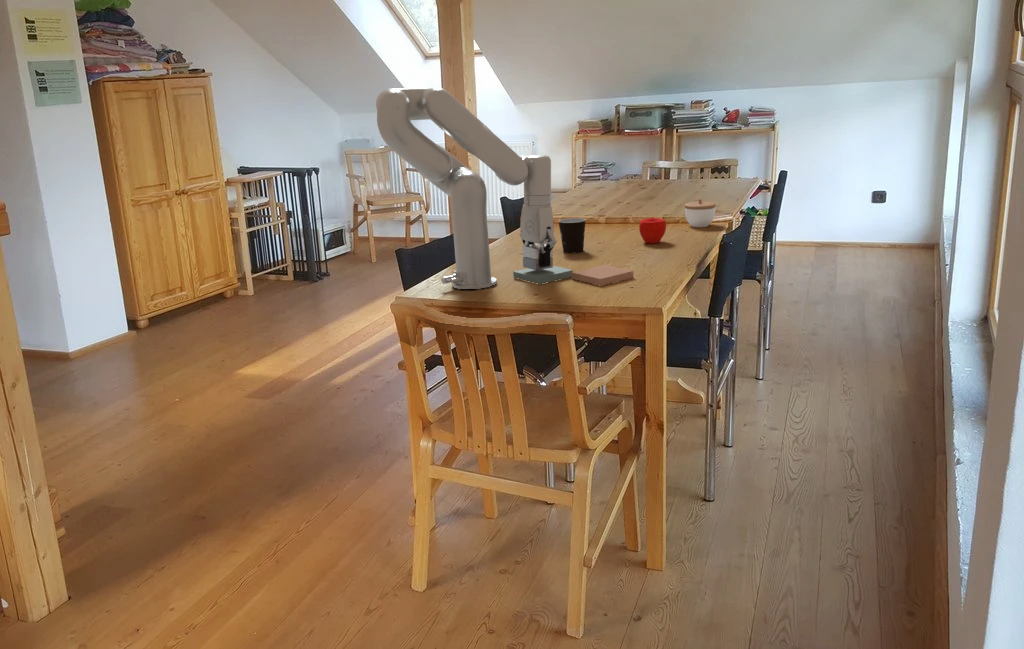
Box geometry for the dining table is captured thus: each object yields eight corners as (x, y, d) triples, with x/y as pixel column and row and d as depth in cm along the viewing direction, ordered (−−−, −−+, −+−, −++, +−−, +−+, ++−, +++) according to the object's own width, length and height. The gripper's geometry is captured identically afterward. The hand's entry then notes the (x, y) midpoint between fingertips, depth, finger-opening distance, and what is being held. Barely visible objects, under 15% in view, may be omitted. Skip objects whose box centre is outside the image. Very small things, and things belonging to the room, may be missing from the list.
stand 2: (600, 286, 231) (600, 279, 230) (572, 279, 240) (571, 272, 240) (633, 278, 237) (633, 270, 237) (604, 271, 247) (604, 264, 246)
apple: (671, 242, 280) (671, 218, 278) (648, 246, 277) (647, 222, 275) (657, 238, 288) (657, 215, 286) (634, 242, 285) (633, 218, 283)
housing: (535, 270, 239) (535, 248, 237) (523, 266, 244) (522, 245, 242) (552, 267, 242) (552, 246, 241) (539, 264, 247) (539, 243, 245)
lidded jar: (719, 223, 307) (720, 197, 304) (709, 229, 298) (709, 202, 296) (691, 222, 313) (691, 196, 310) (680, 227, 304) (679, 201, 301)
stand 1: (539, 285, 236) (538, 277, 236) (513, 278, 246) (513, 271, 245) (573, 277, 243) (572, 270, 242) (546, 270, 252) (546, 264, 252)
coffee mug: (581, 254, 271) (580, 223, 268) (555, 253, 275) (554, 222, 272) (593, 247, 281) (592, 216, 278) (568, 246, 285) (567, 216, 282)
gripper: (508, 198, 243) (509, 261, 248) (545, 205, 229) (546, 271, 234) (529, 196, 247) (530, 258, 252) (567, 202, 233) (567, 267, 238)
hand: (537, 264), depth 243 cm, fingers closed on housing, 6 cm apart
